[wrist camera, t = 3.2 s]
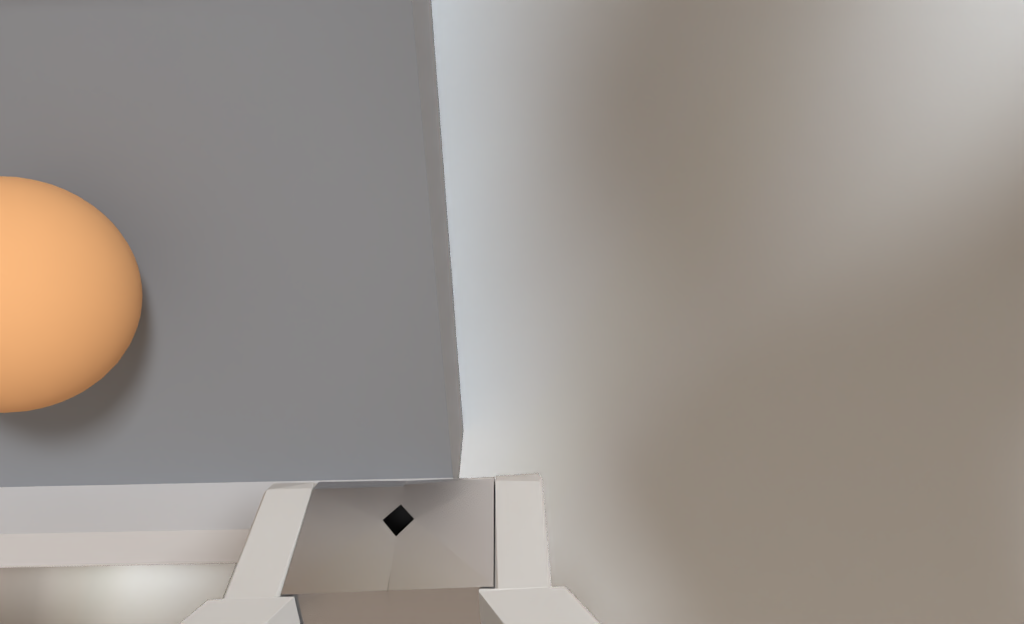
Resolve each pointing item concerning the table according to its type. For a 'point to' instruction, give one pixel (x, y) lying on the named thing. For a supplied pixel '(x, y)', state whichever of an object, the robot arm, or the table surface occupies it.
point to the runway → (234, 265)
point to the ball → (60, 295)
